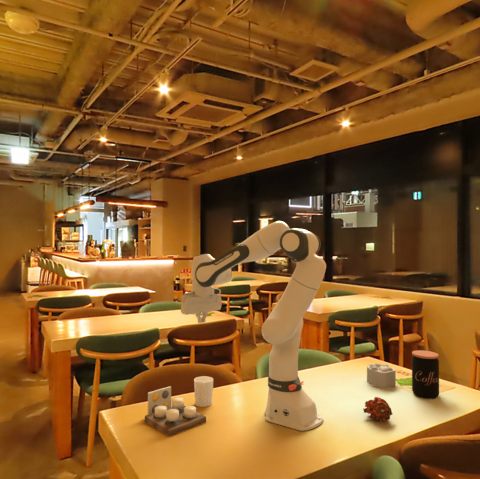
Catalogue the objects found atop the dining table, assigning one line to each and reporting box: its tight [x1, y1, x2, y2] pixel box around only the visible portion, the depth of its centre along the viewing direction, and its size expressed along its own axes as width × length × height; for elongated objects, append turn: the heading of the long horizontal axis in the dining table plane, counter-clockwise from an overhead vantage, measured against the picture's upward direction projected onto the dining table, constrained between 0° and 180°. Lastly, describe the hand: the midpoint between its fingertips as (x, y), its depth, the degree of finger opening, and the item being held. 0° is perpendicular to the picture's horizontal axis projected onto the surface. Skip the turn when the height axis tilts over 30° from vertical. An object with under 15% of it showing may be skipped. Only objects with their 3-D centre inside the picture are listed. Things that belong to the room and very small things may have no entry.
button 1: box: [184, 405, 197, 418], centre depth 145 cm, size 4×4×2 cm
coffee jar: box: [411, 349, 440, 400], centre depth 172 cm, size 11×11×18 cm
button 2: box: [166, 409, 179, 421], centre depth 139 cm, size 4×4×2 cm
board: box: [144, 405, 207, 437], centre depth 145 cm, size 16×16×2 cm
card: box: [147, 385, 172, 415], centre depth 152 cm, size 1×10×9 cm, turn 134°
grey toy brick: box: [366, 362, 397, 390], centre depth 187 cm, size 10×13×9 cm
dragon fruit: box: [362, 396, 393, 422], centre depth 148 cm, size 8×8×12 cm
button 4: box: [155, 406, 167, 418], centre depth 145 cm, size 4×4×2 cm
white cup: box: [193, 375, 214, 408], centre depth 162 cm, size 8×8×10 cm
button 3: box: [171, 397, 185, 409], centre depth 150 cm, size 4×4×2 cm
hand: (201, 322), depth 173 cm, fingers closed
